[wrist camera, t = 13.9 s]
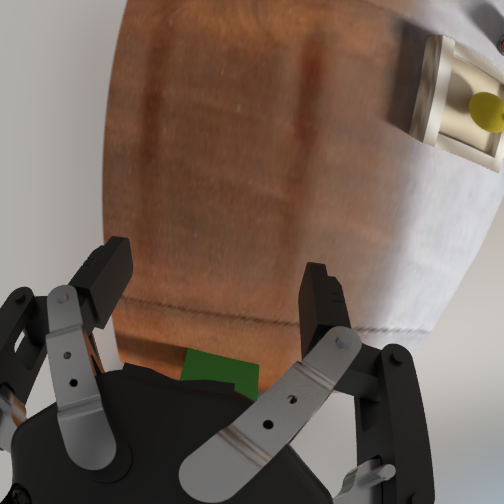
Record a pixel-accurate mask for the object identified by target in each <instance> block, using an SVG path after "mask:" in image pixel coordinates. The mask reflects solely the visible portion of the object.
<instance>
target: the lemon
mask: <svg viewBox="0 0 504 504" xmlns="http://www.w3.org/2000/svg"><path fill="white" fill-rule="evenodd" d="M469 112H470V116H471V118H472V120H473V121H474V122H475V124H476V125H478V126H479V127H480V128H481V129H483V130H485V131H488V132H491V133H500V132H503V131H504V101H503V100H502V99H500V98H499V97H498V96H496V95H494V94H492V93H489V92H479V93H476V94H475V95H473V96H472V98H471V99H470V102H469Z"/></svg>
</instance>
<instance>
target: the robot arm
mask: <svg viewBox="0 0 504 504" xmlns="http://www.w3.org/2000/svg"><path fill="white" fill-rule="evenodd" d="M132 273H133V262H132V255H131V249H130V242H129V239H128V238H124V237H116V236H112V237H111V238H110V239H109V240H108V242H107V243H106V244H105V245H104V246H103V245H101V246H100V247H98V248H97V249H95V250H94V251H93V252H92V253H91V254H90V256H89V257H88V259H87V260H86V261H85V262H84V263H83V266H81V267H80V269H79V270H78V271H77V273H76V274H75V275H74V277H73V278H72V279H71V281H70V282H69V284H68V285H61V286H58V287H56V288H54V289H53V290H52V291H51V292H50V293H49V295H48V296H36V297H35V296H34V294H33V292H32V290H31V289H30V288H28V287H20V288H18V289H16V290H14V291H13V292H12V293H11V294H10V295H9V297H8V298H7V300H6V301H5V302H4V304H3V305H2V307H1V308H0V450H2V451H3V450H5V451H7V452H9V453H11V458H12V468H13V478H12V486H11V489H10V491H9V492H8V494H7V495H6V497H5V498H4V499H3V501H2V502H1V503H0V504H434V501H435V490H434V478H433V467H432V459H431V450H430V443H429V437H428V430H427V424H426V418H425V413H424V407H423V402H422V397H421V393H420V388H419V383H418V379H417V375H416V370H415V366H414V363H413V358H412V356H411V354H410V352H409V351H408V350H407V349H406V348H405V347H403V346H401V345H398V344H388V345H386V346H385V347H384V348H383V349H382V350H380V349H377V348H374V347H371V346H368V345H365V344H363V343H362V342H361V339H360V337H359V335H358V334H357V333H356V332H355V331H353V330H352V329H351V325H350V320H349V316H348V311H347V307H346V303H345V298H344V296H343V290H342V286H341V284H340V283H339V282H338V280H337V279H336V278H335V277H332V276H328V275H327V270H326V266H325V264H320V263H313V262H308V263H307V265H306V269H305V272H304V276H303V279H302V283H301V286H300V290H299V298H298V304H299V319H300V335H301V353H302V361H301V362H298V361H297V362H296V363H294V364H293V365H292V366H291V367H290V368H289V369H288V370H287V371H286V372H285V373H284V374H283V375H282V376H281V377H280V378H279V379H278V380H277V381H276V382H275V383H274V384H273V385H272V386H271V387H270V388H269V389H268V390H267V391H266V392H265V393H264V394H263V395H262V396H261V397H260V398H259V399H258V400H257V401H256V402H254V401H253V400H252V399H250V398H249V397H247V396H245V395H243V394H241V393H239V392H236V391H234V390H235V383H229V382H222V381H215V380H208V379H203V380H182V381H177V380H174V379H171V378H169V377H167V376H165V375H163V374H161V373H158V372H156V371H154V370H152V369H150V368H146V367H141V366H137V365H133V364H129V363H125V364H124V366H123V369H122V370H114V371H109V372H105V371H104V369H103V366H102V363H101V360H100V356H99V353H98V350H97V346H96V343H95V339H94V336H93V333H92V331H93V329H94V327H97V328H101V329H104V328H105V325H106V324H107V322H108V320H109V317H110V316H111V314H112V312H113V310H114V308H115V306H116V304H117V303H118V301H119V299H120V297H121V295H122V293H123V292H124V290H125V288H126V286H127V284H128V282H129V281H130V279H131V277H132ZM22 331H23V333H24V334H25V336H24V338H23V339H22V341H21V343H20V345H19V347H18V349H17V351H16V353H15V350H14V346H15V343H16V341H17V339H18V337H19V335H20V334H21V332H22ZM47 353H48V359H49V365H50V371H51V377H52V382H53V387H54V392H55V397H56V402H55V403H53V404H51V405H50V406H48V407H47V408H45V409H43V410H42V411H40V412H38V413H37V414H35V415H34V416H32V417H30V418H29V419H27V418H26V408H25V404H26V402H27V399H28V397H29V394H30V392H31V389H32V387H33V384H34V382H35V380H36V377H37V375H38V373H39V370H40V368H41V366H42V364H43V362H44V360H45V357H46V355H47ZM333 390H336V391H340V392H343V393H346V394H349V395H352V396H354V404H355V420H356V439H357V440H356V441H357V467H356V468H354V469H352V470H351V471H349V472H348V473H347V475H346V476H345V478H344V480H343V485H342V489H341V491H340V493H339V494H338V495H337V496H336V497H335V498H333V499H332V497H331V495H330V493H329V491H328V490H327V489H326V487H325V486H324V485H323V484H322V483H321V481H320V480H319V479H318V478H317V477H316V476H315V475H314V473H313V472H312V471H311V470H310V469H309V467H308V466H307V465H306V464H305V463H304V462H303V460H302V459H301V458H300V456H299V455H298V454H297V453H296V452H295V450H294V449H293V448H292V447H291V446H290V443H291V442H292V440H294V439H295V438H296V436H297V435H298V434H299V433H300V432H301V431H302V429H303V428H304V427H305V426H306V425H307V423H308V422H309V421H310V419H311V418H312V417H313V416H314V415H315V413H316V412H317V411H318V410H319V408H320V407H321V406H322V405H323V403H324V402H325V401H326V400H327V398H328V397H329V396H330V394H331V393H332V392H333Z"/></svg>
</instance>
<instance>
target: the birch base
mask: <svg viewBox="0 0 504 504" xmlns="http://www.w3.org/2000/svg"><path fill="white" fill-rule="evenodd" d="M479 92H489V93H492V94H494V95H496V96H498V97H499V98H500V99H502V100H503V101H504V71H503V70H502V69H500V68H499V67H497V66H496V65H494V64H493V63H491V62H490V61H488V60H487V59H485V58H483V57H482V56H480V55H479V54H477V53H475V52H474V51H472V50H470V49H468V48H467V47H465V46H463V45H461V44H460V43H458V42H456V41H454V40H452V39H450V38H448V37H446V36H444V35H437V36H429V37H426V44H425V52H424V58H423V65H422V71H421V77H420V83H419V88H418V93H417V98H416V103H415V108H414V112H413V117H412V121H411V126H410V130H409V135H410V136H412V137H414V138H415V139H417V140H419V141H421V142H422V143H425V144H428V145H430V146H433V147H436V148H439V149H442V150H444V151H447V152H450V153H452V154H455V155H457V156H460V157H462V158H465V159H467V160H470V161H472V162H474V163H477V164H479V165H481V166H483V167H486V168H488V169H490V170H492V171H494V172H497V173H499V170H500V167H501V164H502V161H503V158H504V131H503V132H500V133H491V132H488V131H485V130H483V129H481V128H480V127H479V126H478V125H476V124H475V122H474V121H473V120H472V118H471V116H470V112H469V102H470V99H471V98H472V96H473V95H475V94H476V93H479Z"/></svg>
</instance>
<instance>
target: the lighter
mask: <svg viewBox="0 0 504 504" xmlns="http://www.w3.org/2000/svg"><path fill="white" fill-rule="evenodd" d="M497 48H498V50H499V52H500V53H501V54H502V55H503V56H504V35H503V36H502V37H501V38H500V39H499V41H498V43H497Z"/></svg>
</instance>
